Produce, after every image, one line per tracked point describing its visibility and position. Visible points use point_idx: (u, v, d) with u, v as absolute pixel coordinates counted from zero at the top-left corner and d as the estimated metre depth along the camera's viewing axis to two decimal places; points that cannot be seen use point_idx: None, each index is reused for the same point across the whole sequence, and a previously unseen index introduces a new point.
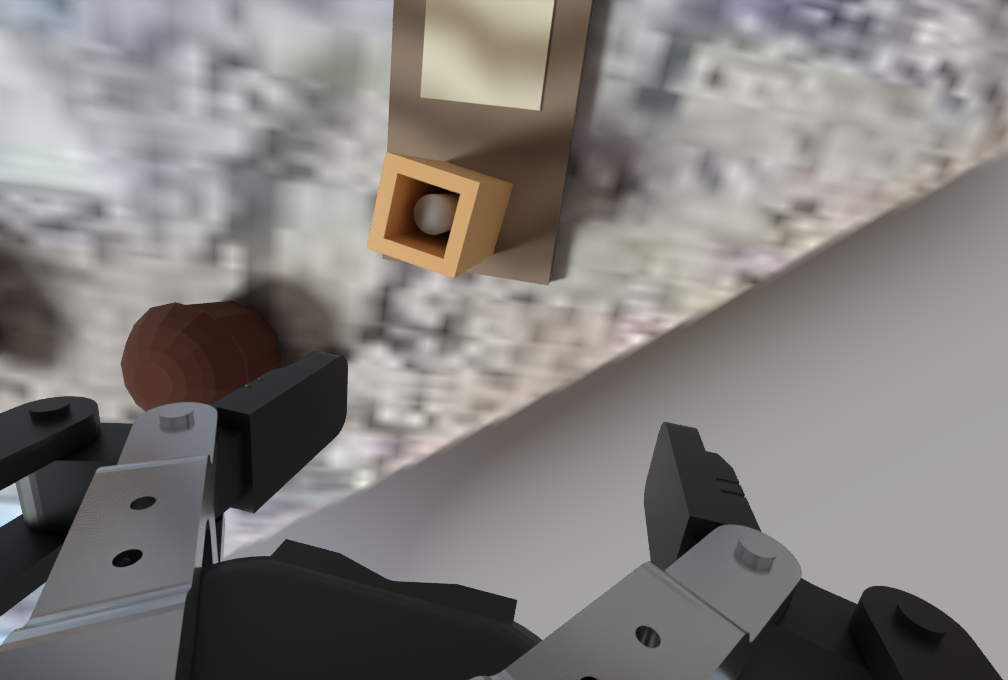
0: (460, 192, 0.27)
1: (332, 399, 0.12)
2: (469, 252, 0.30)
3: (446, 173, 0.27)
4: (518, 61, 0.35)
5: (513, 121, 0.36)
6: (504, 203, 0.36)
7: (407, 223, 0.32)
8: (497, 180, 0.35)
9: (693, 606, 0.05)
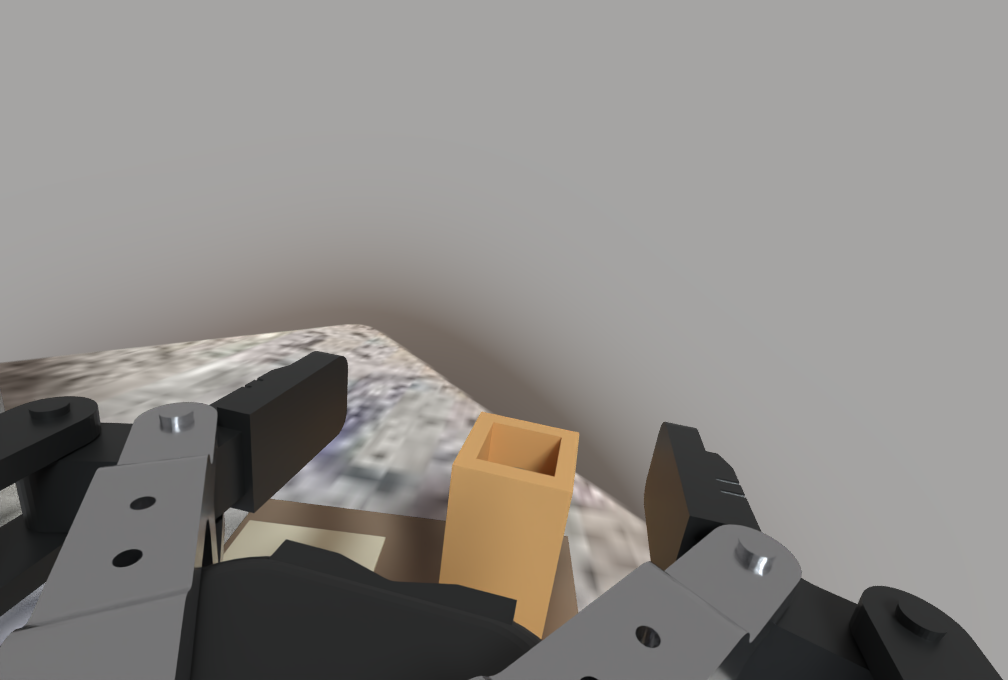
0: (492, 421, 0.27)
1: (332, 399, 0.12)
2: None
3: (474, 428, 0.26)
4: None
5: (392, 562, 0.31)
6: None
7: None
8: None
9: (693, 606, 0.05)
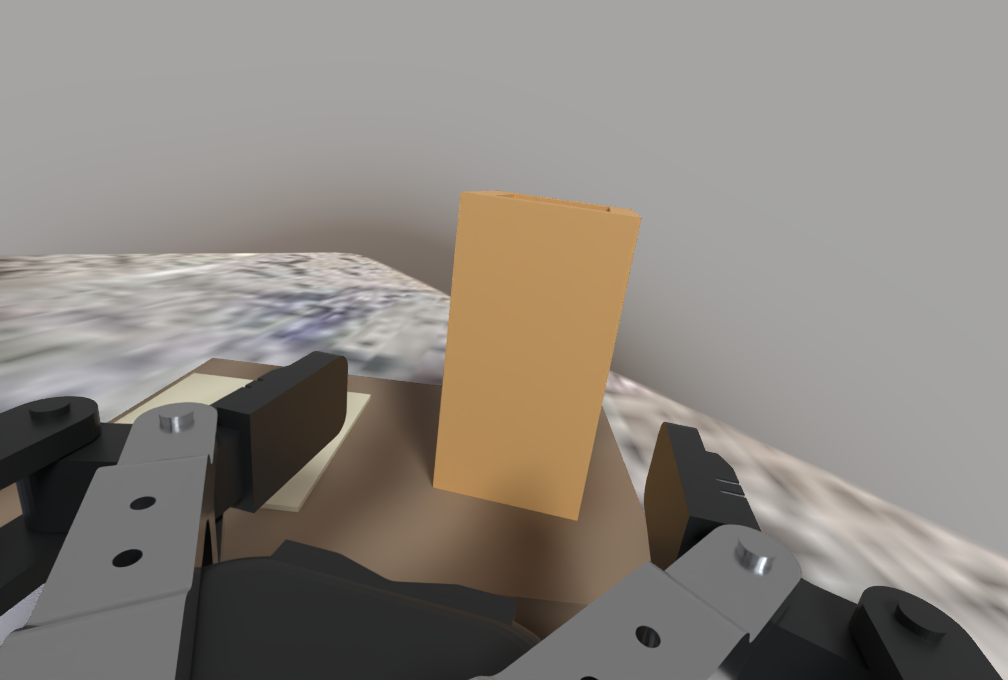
0: (512, 193, 0.20)
1: (332, 399, 0.12)
2: None
3: (488, 191, 0.19)
4: None
5: (378, 417, 0.24)
6: None
7: None
8: None
9: (693, 606, 0.05)
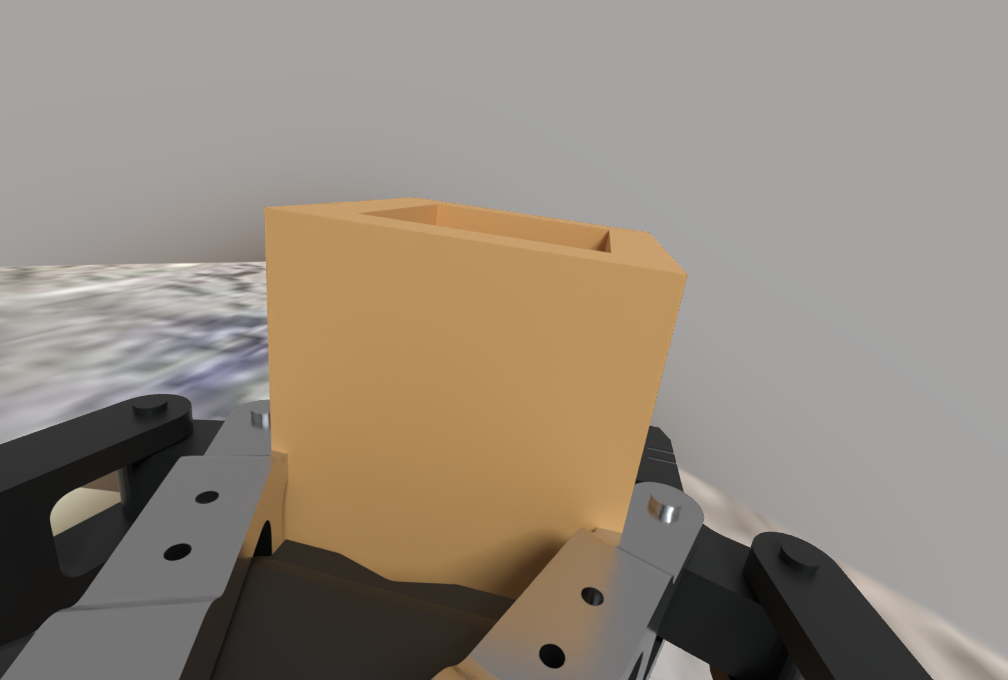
0: (434, 202, 0.11)
1: None
2: None
3: (384, 200, 0.10)
4: None
5: None
6: None
7: None
8: None
9: (625, 560, 0.06)
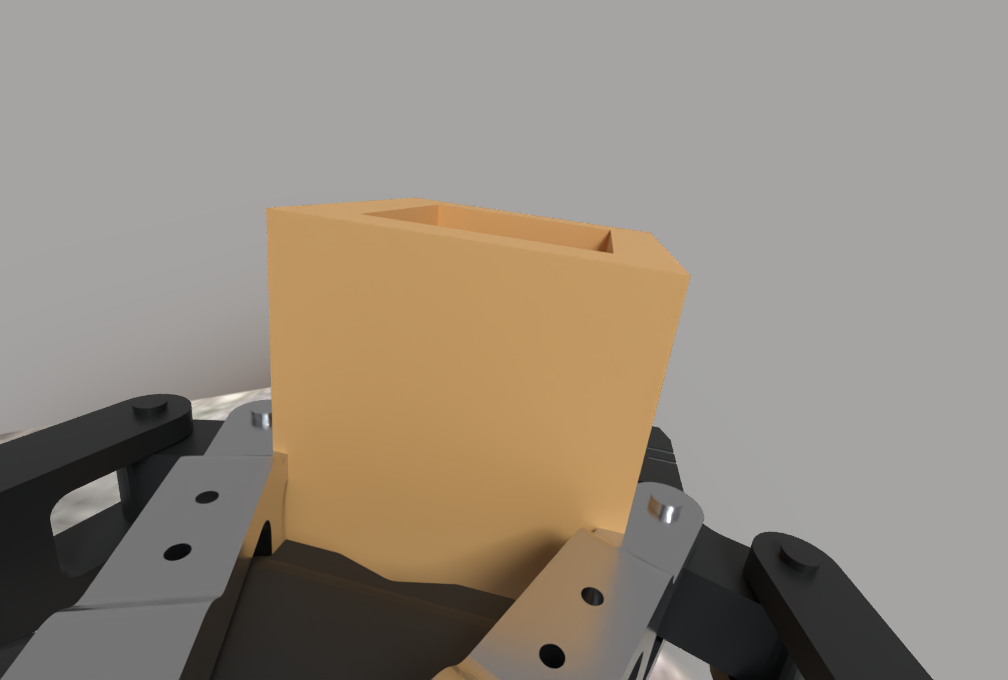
0: (435, 203, 0.11)
1: None
2: None
3: (385, 200, 0.10)
4: None
5: None
6: None
7: None
8: None
9: (625, 561, 0.06)
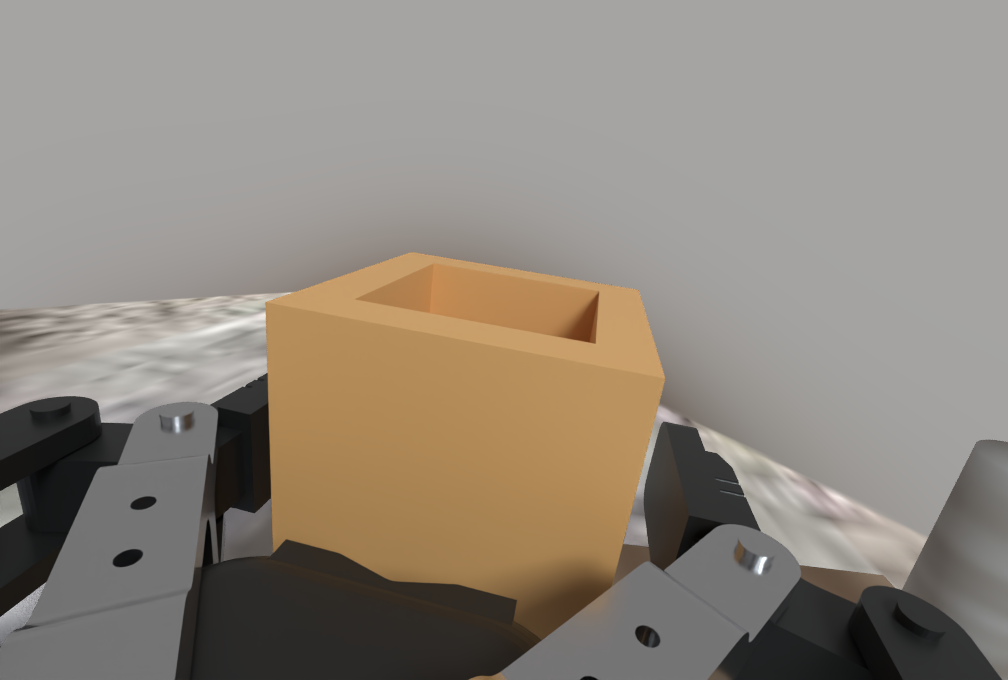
0: (430, 262, 0.11)
1: None
2: None
3: (381, 264, 0.10)
4: None
5: None
6: None
7: None
8: None
9: (692, 606, 0.05)
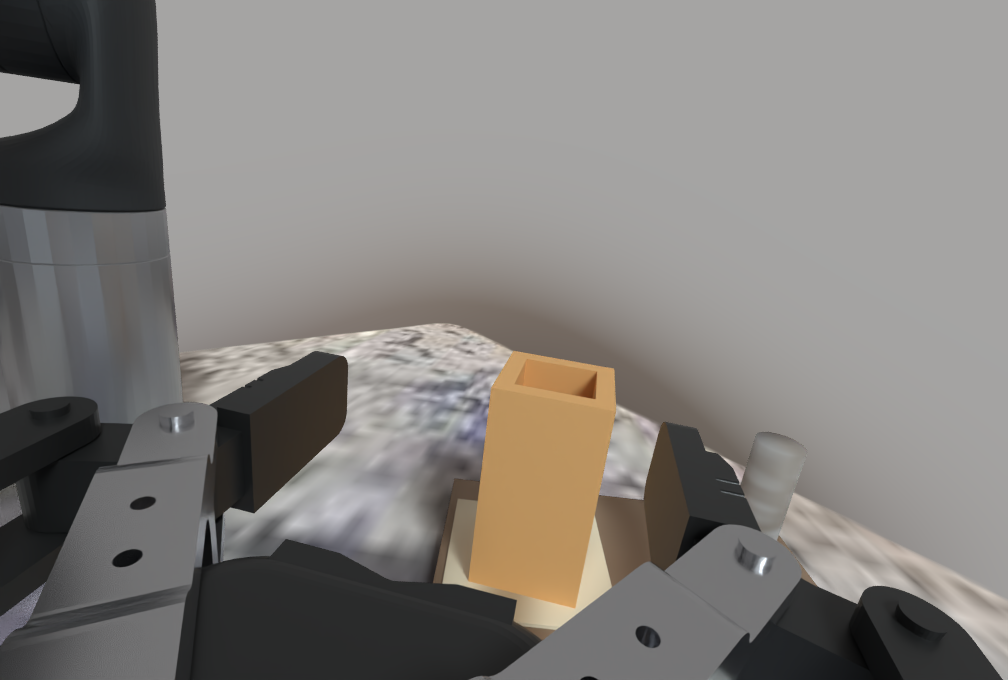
0: (525, 358, 0.27)
1: (332, 399, 0.12)
2: None
3: (508, 362, 0.26)
4: None
5: (612, 537, 0.31)
6: None
7: None
8: None
9: (693, 606, 0.05)
